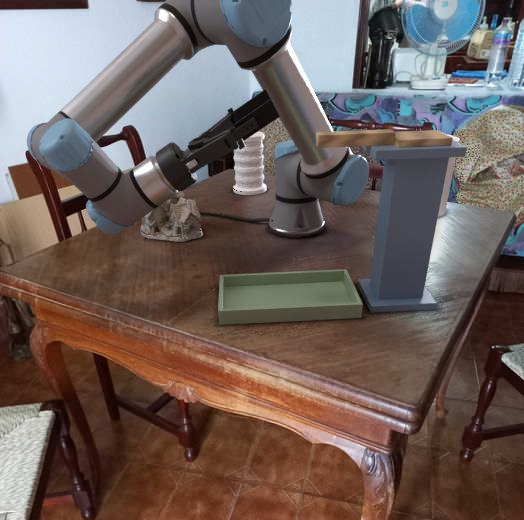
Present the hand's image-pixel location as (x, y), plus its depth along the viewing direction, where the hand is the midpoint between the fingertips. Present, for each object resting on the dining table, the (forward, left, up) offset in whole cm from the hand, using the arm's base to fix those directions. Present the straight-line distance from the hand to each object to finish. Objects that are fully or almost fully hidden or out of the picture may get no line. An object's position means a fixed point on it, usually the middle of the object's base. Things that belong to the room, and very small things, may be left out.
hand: (272, 101), depth 76 cm
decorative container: (-54, +60, -37) cm, 89 cm away
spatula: (+14, +12, -7) cm, 20 cm away
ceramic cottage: (-47, +16, -37) cm, 62 cm away
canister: (+2, +71, -37) cm, 80 cm away
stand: (+18, +15, -37) cm, 44 cm away
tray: (+2, +2, -37) cm, 37 cm away
